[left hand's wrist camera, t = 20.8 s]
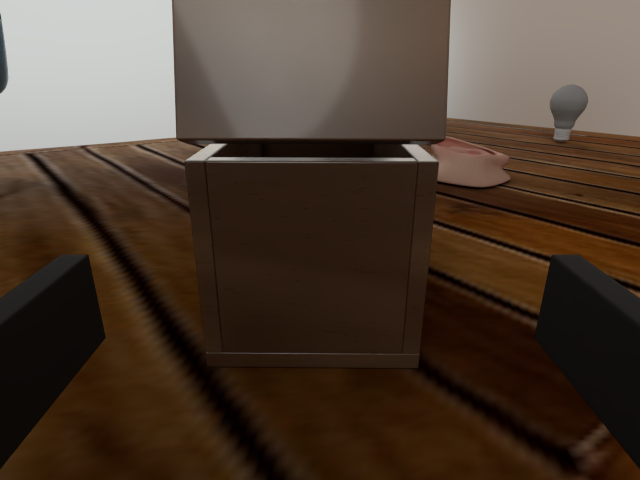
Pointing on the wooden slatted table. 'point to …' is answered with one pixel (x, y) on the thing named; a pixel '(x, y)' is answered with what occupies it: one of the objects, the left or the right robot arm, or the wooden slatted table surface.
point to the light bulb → (567, 109)
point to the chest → (312, 252)
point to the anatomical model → (469, 164)
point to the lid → (311, 71)
